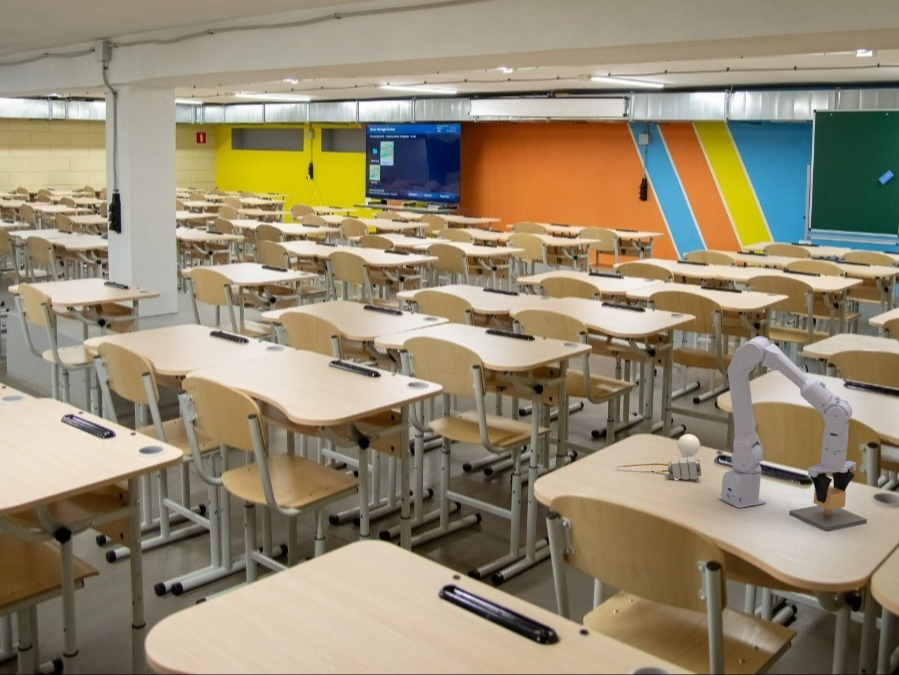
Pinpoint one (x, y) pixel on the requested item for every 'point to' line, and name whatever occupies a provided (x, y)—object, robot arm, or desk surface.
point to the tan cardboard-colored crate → (832, 499)
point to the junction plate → (827, 517)
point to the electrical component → (680, 468)
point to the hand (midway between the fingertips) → (829, 499)
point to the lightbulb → (688, 445)
